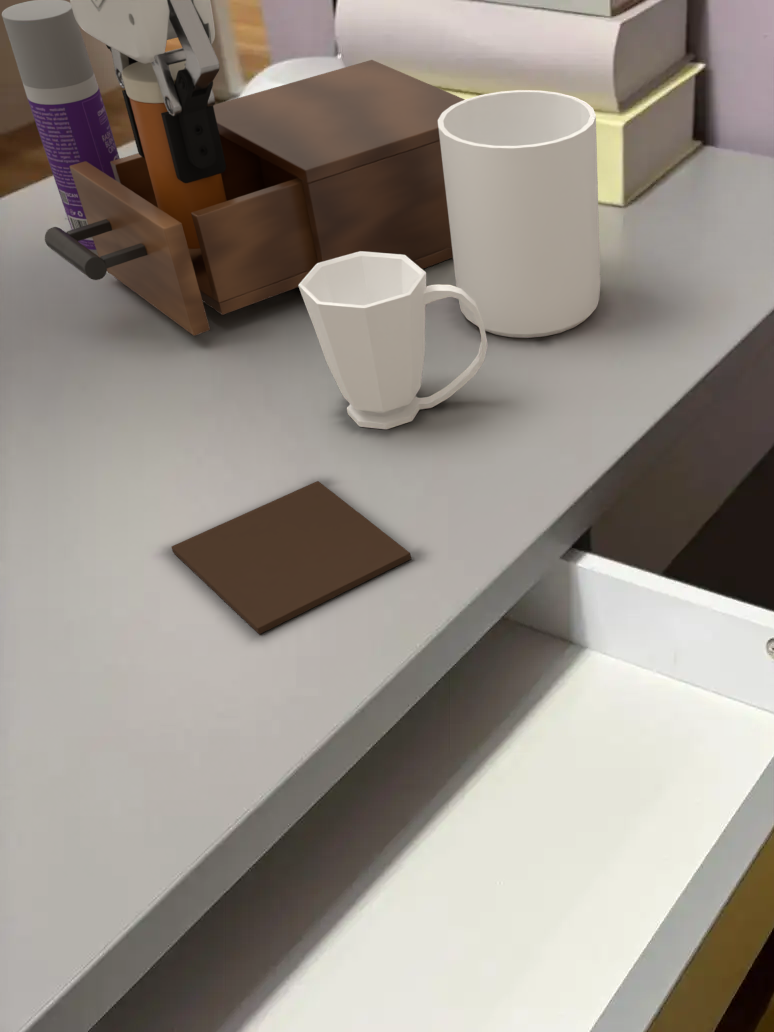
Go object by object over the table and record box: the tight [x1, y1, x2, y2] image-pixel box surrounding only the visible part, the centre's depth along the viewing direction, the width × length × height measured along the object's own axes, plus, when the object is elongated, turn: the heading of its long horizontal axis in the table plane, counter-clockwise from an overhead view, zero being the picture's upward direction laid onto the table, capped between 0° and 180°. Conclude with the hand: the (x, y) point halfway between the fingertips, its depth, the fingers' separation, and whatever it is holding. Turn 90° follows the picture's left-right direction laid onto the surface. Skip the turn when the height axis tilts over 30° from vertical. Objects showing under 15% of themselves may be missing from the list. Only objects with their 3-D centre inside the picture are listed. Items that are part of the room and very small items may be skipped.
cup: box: [298, 251, 488, 430], centre depth 71 cm, size 7×10×8 cm
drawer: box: [44, 135, 318, 337], centre depth 82 cm, size 18×13×7 cm
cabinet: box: [213, 59, 465, 270], centre depth 87 cm, size 15×15×9 cm
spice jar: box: [122, 61, 227, 249], centre depth 79 cm, size 5×5×10 cm
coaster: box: [170, 480, 412, 635], centre depth 65 cm, size 9×9×1 cm
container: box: [1, 0, 120, 256], centre depth 86 cm, size 5×5×15 cm
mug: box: [438, 89, 601, 339], centre depth 79 cm, size 10×12×12 cm
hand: (182, 161), depth 80 cm, fingers closed on spice jar, 4 cm apart
